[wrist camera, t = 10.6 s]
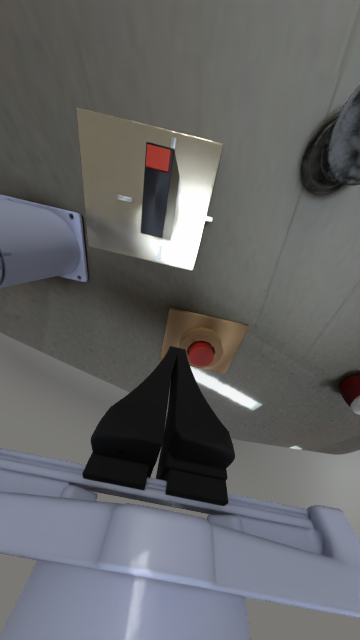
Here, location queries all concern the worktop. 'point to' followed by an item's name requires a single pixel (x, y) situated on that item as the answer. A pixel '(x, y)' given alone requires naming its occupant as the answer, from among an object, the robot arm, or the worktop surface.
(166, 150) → the knob
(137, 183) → the panel
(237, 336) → the button block
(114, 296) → the worktop surface
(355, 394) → the cocoa
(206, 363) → the button
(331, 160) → the salt shaker
